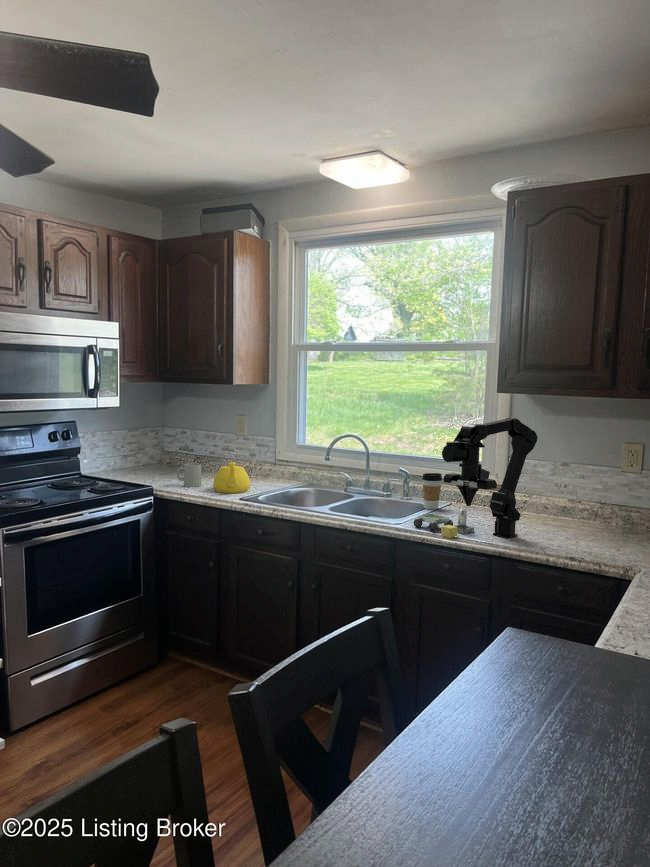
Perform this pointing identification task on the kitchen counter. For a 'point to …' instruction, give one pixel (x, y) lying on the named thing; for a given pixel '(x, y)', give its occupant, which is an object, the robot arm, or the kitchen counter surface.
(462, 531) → the socket
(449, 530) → the block
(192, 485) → the mug
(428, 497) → the coffee cup
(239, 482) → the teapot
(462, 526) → the pin
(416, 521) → the trolley
